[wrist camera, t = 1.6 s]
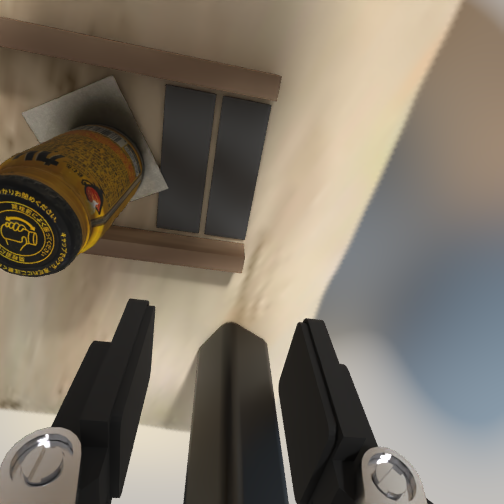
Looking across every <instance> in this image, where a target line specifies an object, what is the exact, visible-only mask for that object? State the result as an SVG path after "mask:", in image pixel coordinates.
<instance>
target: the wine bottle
mask: <svg viewBox="0 0 504 504" xmlns="http://www.w3.org/2000/svg"><path fill="white" fill-rule="evenodd" d="M280 444H281V443H280V437H279V429H278V422H277V414H276V407H275V399H274V392H273V385H272V378H271V370H270V363H269V356H268V348H267V343H266V342H265V341H264V340H263V339H261V338H260V337H258V336H256V335H255V334H253V333H251V332H250V331H248V330H246V329H245V328H243V327H241V326H240V325H238V324H236V323H233V322H229V323H225V324H224V325H222V326H221V327H220V328H219V329H218V330H217V331H216V332H215V333H214V334H213V335H212V336H211V337H210V338H209V339H208V340H207V341H206V342H205V343H204V344H203V345H202V346H201V348H200V350H199V353H198V363H197V373H196V383H195V393H194V403H193V413H192V423H191V433H190V444H189V453H188V463H187V473H186V483H185V484H186V485H185V493H184V503H183V504H289V502H288V495H287V488H286V480H285V473H284V465H283V458H282V452H281V445H280Z"/></svg>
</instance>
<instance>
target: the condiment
mask: <svg viewBox="0 0 504 504" xmlns="http://www.w3.org/2000/svg"><path fill="white" fill-rule="evenodd" d="M22 115H23V116H24V118H25V120H26V121H27V123H28V125H29V126H30V128H31V129H32V131H33V132H34V134H35V135H36V137H37V139H38V141H39V142H40V144H39V145H37V146H35V147H33V148H30V149H28V150H25V151H23V152H21V153H18V154H16V155H13V156H12V157H11V158H9V159H8V160H6V161H5V162H3V163H2V164H1V165H0V268H1V269H3V270H4V271H6V272H9V273H12V274H16V275H20V276H28V277H40V276H44V275H50V274H54V273H57V272H59V271H61V270H63V269H65V268H66V267H67V266H68V265H70V263H71V262H72V261H73V260H74V259H75V257H76V256H77V255H79V254H80V253H83V252H85V251H86V250H88V249H90V248H91V247H93V246H94V245H95V244H96V243H97V242H98V240H99V239H100V238H101V237H102V236H103V235H104V234H105V232H106V231H107V230H108V229H109V228H110V227H111V225H112V223H113V221H114V219H115V218H117V217H118V216H119V213H120V212H122V211H123V209H124V208H125V207H126V205H127V204H128V202H131V201H134V200H137V199H139V198H142V197H145V196H149V195H151V194H154V193H157V192H160V191H163V190H166V189H168V186H167V184H166V182H165V180H164V178H163V176H162V174H161V172H160V169H159V167H158V165H157V163H156V162H155V159H154V157H153V155H152V153H151V151H150V149H149V147H148V145H147V143H146V141H145V139H144V137H143V135H142V133H141V131H140V129H139V128H138V126H137V124H136V121H135V119H134V117H133V115H132V113H131V111H130V108H129V106H128V104H127V102H126V100H125V99H124V97H123V95H122V93H121V91H120V89H119V87H118V85H117V83H116V81H115V79H114V77H113V75H111V76H109V77H107V78H104V79H102V80H100V81H97V82H95V83H93V84H90V85H88V86H85V87H83V88H80V89H78V90H76V91H74V92H71V93H69V94H66V95H64V96H61V97H59V98H57V99H54V100H52V101H50V102H47V103H44V104H42V105H40V106H37V107H35V108H32V109H30V110H28V111H25V112H23V113H22Z"/></svg>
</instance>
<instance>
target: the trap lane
mask: <svg viewBox="0 0 504 504" xmlns="http://www.w3.org/2000/svg"><path fill="white" fill-rule="evenodd" d="M0 46H1V47H6V48H11V49H16V50H21V51H26V52H31V53H36V54H41V55H47V56H52V57H57V58H62V59H67V60H72V61H77V62H82V63H87V64H92V65H97V66H102V67H107V68H112V69H117V70H122V71H127V72H132V73H137V74H142V75H147V76H152V77H157V78H162V79H167V80H172V81H177V82H182V83H187V84H192V85H197V86H202V87H207V88H212V89H217V90H222V91H227V92H232V93H237V94H242V95H247V96H252V97H257V98H262V99H267V100H272V101H277V98H278V93H279V88H280V83H281V78H282V76H279V75H275V74H271V73H266V72H261V71H256V70H252V69H247V68H242V67H237V66H233V65H228V64H223V63H218V62H214V61H209V60H204V59H199V58H195V57H190V56H185V55H180V54H175V53H171V52H166V51H161V50H156V49H152V48H147V47H142V46H137V45H133V44H128V43H123V42H118V41H114V40H109V39H104V38H99V37H95V36H90V35H85V34H80V33H76V32H71V31H66V30H61V29H57V28H52V27H47V26H42V25H38V24H33V23H28V22H23V21H19V20H14V19H9V18H4V17H0ZM215 101H216V94H212V93H207V92H202V91H197V90H192V89H187V88H182V87H177V86H172V85H167V84H166V92H165V107H164V122H163V138H162V153H161V168H160V172H161V174H162V176H163V178H164V180H165V182H166V184H167V186H168V189H166V190H163V191H160V192H159V198H158V213H157V228H164V229H171V230H178V231H185V232H193V233H199V226H200V218H201V210H202V202H203V195H204V187H205V179H206V171H207V163H208V156H209V148H210V140H211V132H212V124H213V117H214V109H215ZM270 110H271V105H268V104H263V103H258V102H253V101H248V100H243V99H238V98H233V97H228V96H223V102H222V109H221V116H220V124H219V131H218V138H217V146H216V153H215V160H214V167H213V175H212V182H211V189H210V197H209V204H208V211H207V219H206V226H205V233H204V234H207V235H214V236H221V237H228V238H235V239H242V240H245V236H246V231H247V226H248V221H249V216H250V211H251V206H252V201H253V196H254V191H255V186H256V181H257V175H258V170H259V165H260V160H261V155H262V150H263V145H264V140H265V135H266V130H267V125H268V120H269V115H270ZM83 253H86V254H94V255H101V256H109V257H117V258H125V259H133V260H141V261H149V262H156V263H164V264H172V265H180V266H188V267H196V268H204V269H211V270H219V271H227V272H235V273H242V269H243V265H244V260H245V254H244V244H241V243H234V242H227V241H220V240H212V239H205V238H198V237H191V236H184V235H176V234H169V233H162V232H155V231H148V230H141V229H133V228H126V227H119V226H112V225H111V227H110V228H109V229H108V230H107V231H106V232H105V234H104V235H103V236H102V237H101V238H100V239H99V240H98V242H97V243H96V244H95V245H94V246H93V247H91V248H90V249H88V250H86V251H85V252H83Z"/></svg>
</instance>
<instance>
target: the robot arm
mask: <svg viewBox="0 0 504 504" xmlns="http://www.w3.org/2000/svg"><path fill="white" fill-rule="evenodd" d="M154 319H155V306H149V301H146V300H137V299H129V301H128V303H127V305H126V308H125V310H124V313H123V315H122V318H121V320H120V322H119V325H118V327H117V330H116V332H115V335H114V337H113V339H112V342H102V341H93V342H92V344H91V345H90V347H89V349H88V351H87V353H86V355H85V357H84V360H83V362H82V364H81V366H80V368H79V370H78V372H77V374H76V376H75V378H74V380H73V382H72V385H71V387H70V389H69V391H68V393H67V395H66V397H65V399H64V401H63V403H62V405H61V407H60V410H59V412H58V414H57V416H56V418H55V420H54V422H53V424H52V426H51V427H49V428H44V429H40V430H37V431H35V432H33V433H31V434H29V435H27V436H25V437H24V438H22V439H21V440H20V441H18V442H17V443H16V444H15V445H14V446H13V447H12V448H11V449H10V451H9V452H8V453H7V454H6V456H5V458H4V460H3V462H2V464H1V467H0V504H111V500H112V498H120V496H121V493H122V489H123V485H124V481H125V477H126V473H127V469H128V465H129V461H130V456H131V452H132V449H133V444H134V440H135V436H136V432H137V428H138V424H139V420H140V416H141V412H142V408H143V404H144V400H145V395H146V391H147V387H148V383H149V378H150V372H151V360H152V347H153V333H154ZM279 398H280V404H281V409H282V417H283V423H284V430H285V437H286V444H287V450H288V456H289V463H290V470H291V476H292V483H293V490H294V495H295V500H296V503H297V504H433V503H432V502H430V501H429V500H428V499H427V498H426V496H425V492H424V488H423V485H422V482H421V480H420V477H419V475H418V473H417V472H416V470H415V469H414V467H413V466H412V465H411V464H410V463H409V462H408V461H407V460H406V459H405V458H404V457H403V456H402V455H400V454H399V453H397V452H396V451H393V450H391V449H388V448H384V447H378V445H377V443H376V440H375V438H374V435H373V433H372V430H371V427H370V425H369V422H368V420H367V417H366V414H365V412H364V409H363V407H362V404H361V402H360V399H359V397H358V394H357V391H356V389H355V386H354V383H353V381H352V378H351V376H350V373H349V371H348V369H347V367H346V366H345V365H344V364H339V361H338V359H337V356H336V353H335V350H334V348H333V345H332V342H331V340H330V337H329V334H328V331H327V329H326V326H325V323H324V321H323V320H316V319H307V318H306V319H304V321H303V323H302V322H299V323H298V324H297V326H296V330H295V333H294V336H293V339H292V342H291V345H290V349H289V352H288V355H287V358H286V361H285V364H284V368H283V371H282V374H281V377H280V380H279Z"/></svg>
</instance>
